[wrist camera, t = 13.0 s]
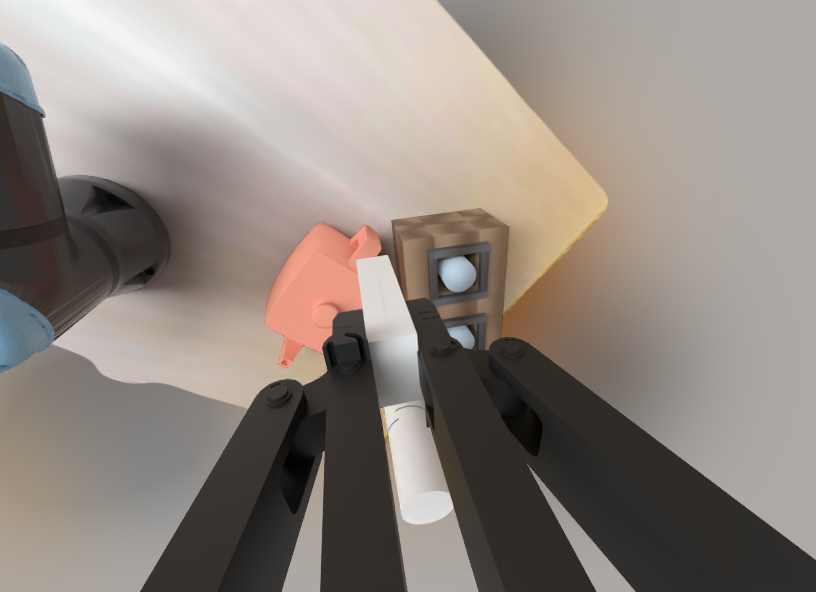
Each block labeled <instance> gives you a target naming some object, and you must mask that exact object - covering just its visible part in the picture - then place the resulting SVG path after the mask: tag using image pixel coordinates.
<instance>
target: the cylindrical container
mask: <svg viewBox="0 0 816 592" xmlns="http://www.w3.org/2000/svg"><path fill="white" fill-rule="evenodd" d="M384 410H385V417H386V423H387V429H388V435H389V441H390V447H391V453H392V460H393V466H394V472H395V478H396V484H397V490H398V497H399V503H400V508H401V514H402V518H403V519H404V520H405V521H406V522H409V523H412V524H427V523H431V522H434V521H437V520H439V519H441V518H443V517H444V516H446V515H447V514H448V513H449V512H450V511H451V510H452V508H453V507H454V506H453V503H452V500H451V496H450V493H449V490H448V486H447V483H446V479H445V476H444V473H443V469H442V466H441V463H440V459H439V456H438V453H437V449H436V446H435V442H434V439H433V436H432V432H431V429H430V427H428V428H427V426H426V413H425V402H424V399H423V395H422V399H421V400H417V401H412V402H407V403H402V404H397V405H392V406H387V407H384Z"/></svg>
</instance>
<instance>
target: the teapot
mask: <svg viewBox="0 0 816 592" xmlns="http://www.w3.org/2000/svg"><path fill="white" fill-rule="evenodd" d="M381 250H382V248H381V243H380V238H379V234H378V233H377V232H375V231H374V230H373V229H371V228H370V227H369V226H367V225H366V224H365V225H364V226H363V227H362V228H361V229H360V230H359V231H358V232H357V233H356V234H355V235H354V236H353V237H352V238H351V239H350V238H348V237H347V236H345V235H344V234H342V233H340V232H339V231H337V230H336V229H334V228H333V227H331V226H329V225H327V224H326V223H323V222H320V223H318V224H317V225H315V226H314V227H313V228H312V229H311V230H310V231H309V233H308V234H307V235H306V236H305V237H304V238H303V239H302V241H301V242H300V243H299V244H298V246H297V247H296V248H295V249H294V251H293V252H292V254H291V255H290V256H289V258H288V259H287V261H286V262H285V264H284V265H283V267H282V269H281V271H280V272H279V274H278V276H277V278H276V280H275V282H274V284H273V286H272V288H271V290H270V293H269V296H268V300H267V304H266V314H265V325H266V326H267V327H268V328H270V329H272V330H273V331H275V332H277V333H279V334H281V335H283V336H285V338H284V342H283V346H282V350H281V354H280V358H279V362H278V365H280V366H282V367H285V368H288V367H289V366H290V364H291V363H292V362H293V360H294V358H295V357H296V355H297V354H298V353H299V351H300V350H301V348H302V347H303V345H304V346H307V347H309V348H311V349H313V350H315V351H317V352H319V353H322V354H323V350H322V346H323V343H324V342H325V341H326V340H327V339H328V338H329V337H330V336H332V330H333V329H332V322H333V319H334V318H335V316H336V315H337V314H338V313H340V312H346V311H352V310H358V309H363V308H362V300H361V293H360V285H359V278H358V271H357V263H356V260H357V259H364V258H370V257H376V256H377V255H378V254H379V253H380V251H381Z"/></svg>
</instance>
